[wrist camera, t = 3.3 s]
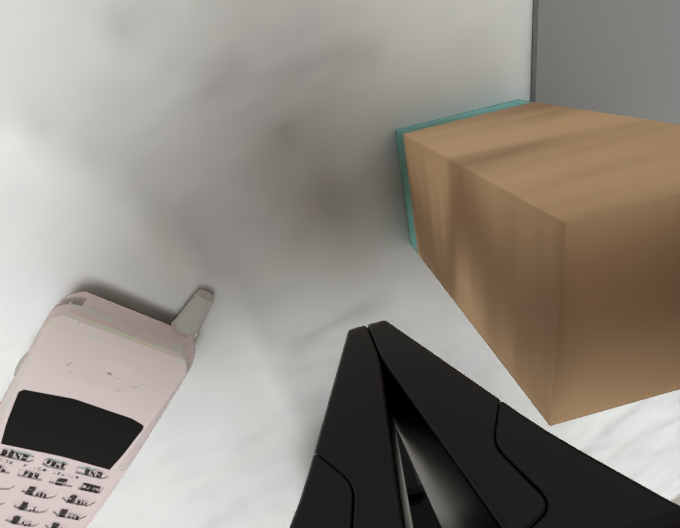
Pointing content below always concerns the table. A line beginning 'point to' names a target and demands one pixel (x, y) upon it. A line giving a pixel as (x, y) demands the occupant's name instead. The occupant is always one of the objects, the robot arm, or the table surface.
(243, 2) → the table surface
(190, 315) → the mobile phone
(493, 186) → the oak block
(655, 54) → the charcoal mat
